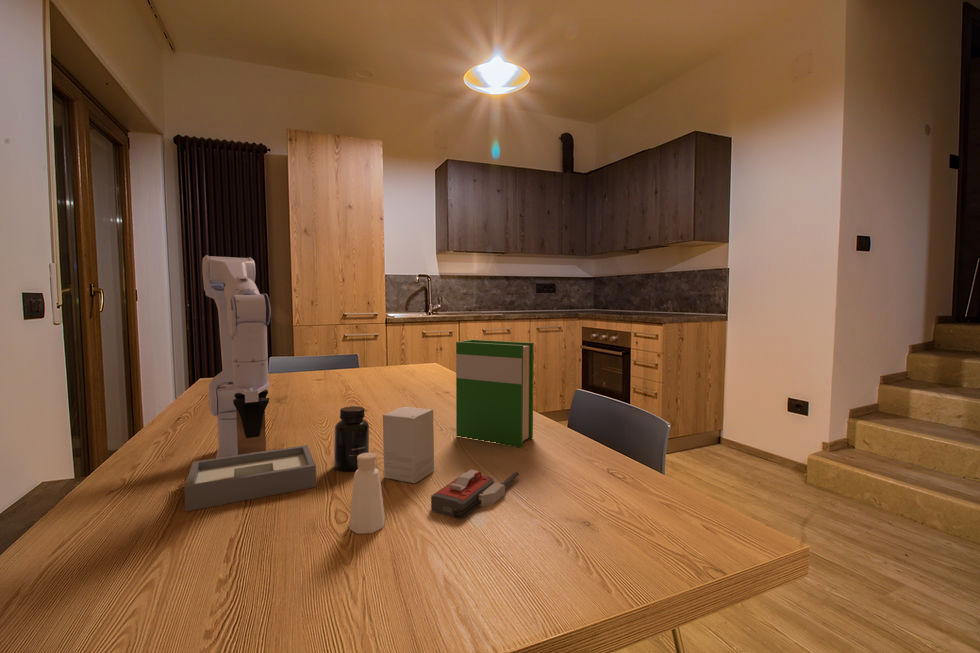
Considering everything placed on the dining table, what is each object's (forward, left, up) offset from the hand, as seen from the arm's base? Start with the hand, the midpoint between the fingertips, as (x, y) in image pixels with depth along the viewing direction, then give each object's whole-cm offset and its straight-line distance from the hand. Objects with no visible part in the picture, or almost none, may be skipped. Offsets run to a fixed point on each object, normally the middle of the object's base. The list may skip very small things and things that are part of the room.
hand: (252, 433), depth 82 cm
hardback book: (-3, +53, -10) cm, 54 cm away
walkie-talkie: (+24, +35, -10) cm, 43 cm away
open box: (0, 0, -10) cm, 10 cm away
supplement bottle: (-1, +18, -10) cm, 20 cm away
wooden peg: (0, 0, -3) cm, 3 cm away
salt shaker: (+25, +15, -10) cm, 31 cm away
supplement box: (+9, +27, -10) cm, 30 cm away
